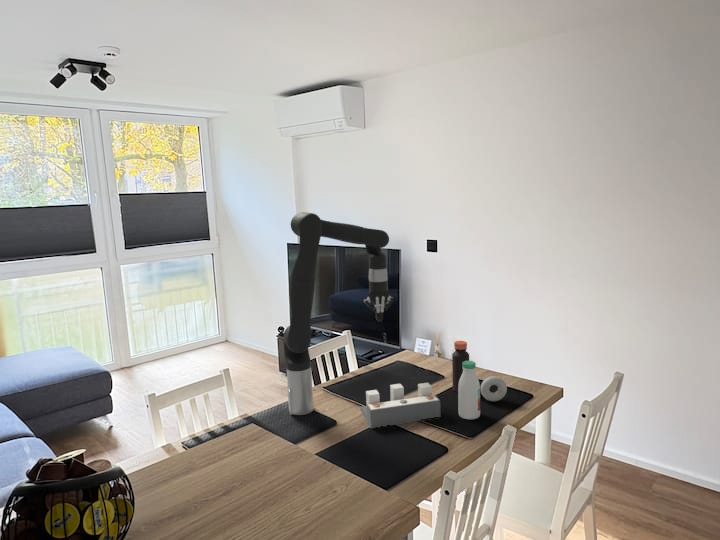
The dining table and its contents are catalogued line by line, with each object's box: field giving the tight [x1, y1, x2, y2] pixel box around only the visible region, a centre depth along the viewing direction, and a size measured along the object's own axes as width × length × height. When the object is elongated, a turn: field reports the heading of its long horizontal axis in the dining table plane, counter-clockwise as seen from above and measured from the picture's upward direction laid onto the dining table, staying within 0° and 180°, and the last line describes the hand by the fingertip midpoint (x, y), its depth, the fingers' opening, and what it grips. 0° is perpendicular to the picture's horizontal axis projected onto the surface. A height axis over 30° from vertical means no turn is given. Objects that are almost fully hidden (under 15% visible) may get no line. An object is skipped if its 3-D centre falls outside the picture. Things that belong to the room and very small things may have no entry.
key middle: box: [389, 383, 405, 401], centre depth 184 cm, size 4×4×8 cm
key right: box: [417, 382, 433, 397], centre depth 184 cm, size 4×4×8 cm
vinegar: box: [451, 340, 470, 393], centre depth 200 cm, size 7×7×20 cm
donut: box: [480, 375, 508, 402], centre depth 189 cm, size 10×4×10 cm, turn 90°
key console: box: [360, 394, 442, 429], centre depth 182 cm, size 26×15×7 cm, turn 103°
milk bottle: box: [457, 360, 481, 420], centre depth 178 cm, size 8×8×20 cm
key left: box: [365, 389, 381, 406], centre depth 179 cm, size 4×4×8 cm
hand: (379, 320), depth 202 cm, fingers closed
